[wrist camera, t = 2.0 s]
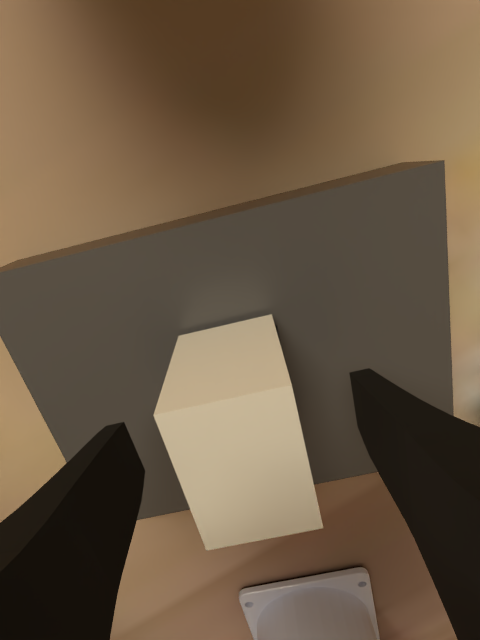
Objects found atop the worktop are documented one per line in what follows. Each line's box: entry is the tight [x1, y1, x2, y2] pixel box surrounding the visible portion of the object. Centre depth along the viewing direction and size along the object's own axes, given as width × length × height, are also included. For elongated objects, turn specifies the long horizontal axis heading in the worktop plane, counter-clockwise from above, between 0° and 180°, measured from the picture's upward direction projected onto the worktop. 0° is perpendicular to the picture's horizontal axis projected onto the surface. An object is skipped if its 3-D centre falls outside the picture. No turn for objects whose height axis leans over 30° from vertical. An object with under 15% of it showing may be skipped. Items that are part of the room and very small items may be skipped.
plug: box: [153, 314, 323, 551], centre depth 14 cm, size 5×3×8 cm
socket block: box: [0, 160, 453, 520], centre depth 16 cm, size 12×16×3 cm
